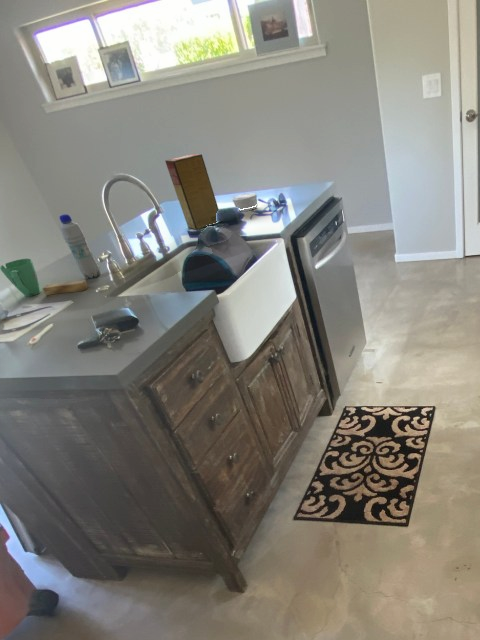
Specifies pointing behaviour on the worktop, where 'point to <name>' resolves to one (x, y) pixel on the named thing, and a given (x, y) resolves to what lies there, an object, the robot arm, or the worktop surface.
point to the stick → (65, 287)
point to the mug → (22, 276)
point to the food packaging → (193, 190)
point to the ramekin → (245, 201)
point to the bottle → (79, 247)
